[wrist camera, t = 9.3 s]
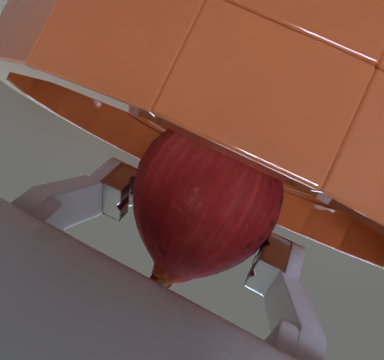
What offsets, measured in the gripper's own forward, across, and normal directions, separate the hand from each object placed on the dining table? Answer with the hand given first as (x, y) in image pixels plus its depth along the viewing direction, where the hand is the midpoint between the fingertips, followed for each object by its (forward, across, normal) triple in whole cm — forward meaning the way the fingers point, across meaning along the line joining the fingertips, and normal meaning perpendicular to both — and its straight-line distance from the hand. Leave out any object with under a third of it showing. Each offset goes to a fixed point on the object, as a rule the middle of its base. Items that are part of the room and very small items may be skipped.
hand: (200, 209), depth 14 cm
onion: (+3, 0, -4) cm, 5 cm away
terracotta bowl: (+4, 0, -4) cm, 6 cm away
